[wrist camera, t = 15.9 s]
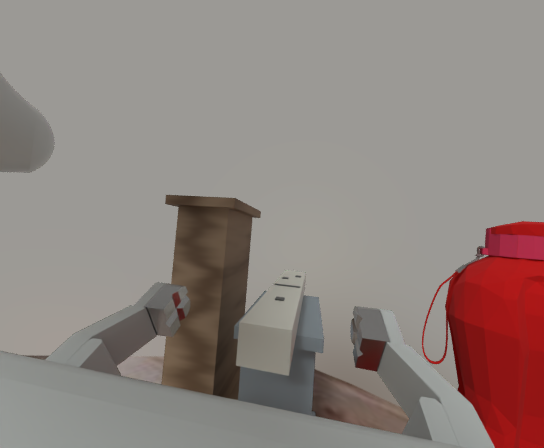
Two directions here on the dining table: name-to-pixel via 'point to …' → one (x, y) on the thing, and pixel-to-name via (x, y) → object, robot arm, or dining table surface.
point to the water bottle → (501, 333)
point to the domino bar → (272, 326)
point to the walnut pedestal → (209, 293)
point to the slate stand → (299, 384)
